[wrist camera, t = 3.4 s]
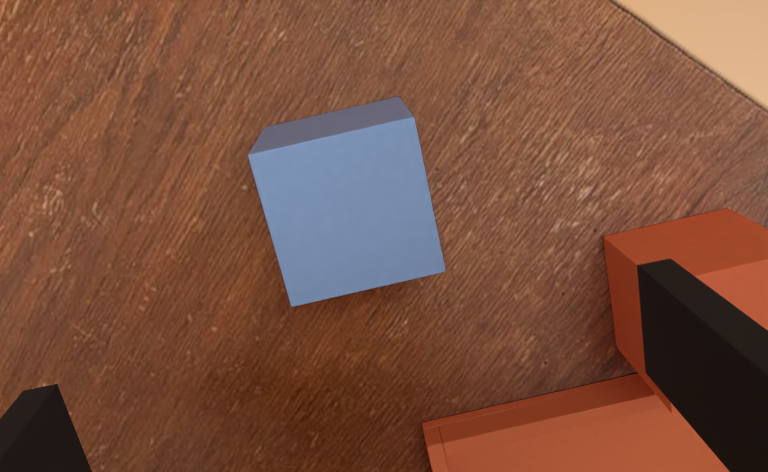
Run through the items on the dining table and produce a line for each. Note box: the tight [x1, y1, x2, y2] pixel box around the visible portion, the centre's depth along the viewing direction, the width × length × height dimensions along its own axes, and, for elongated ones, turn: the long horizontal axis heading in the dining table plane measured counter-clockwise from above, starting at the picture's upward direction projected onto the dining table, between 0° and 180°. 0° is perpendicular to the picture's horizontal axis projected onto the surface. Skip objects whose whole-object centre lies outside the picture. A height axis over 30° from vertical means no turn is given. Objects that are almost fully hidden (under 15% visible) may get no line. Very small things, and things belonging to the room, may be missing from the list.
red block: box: [603, 208, 768, 414], centre depth 31 cm, size 6×6×6 cm
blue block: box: [248, 96, 446, 307], centre depth 28 cm, size 6×6×6 cm
